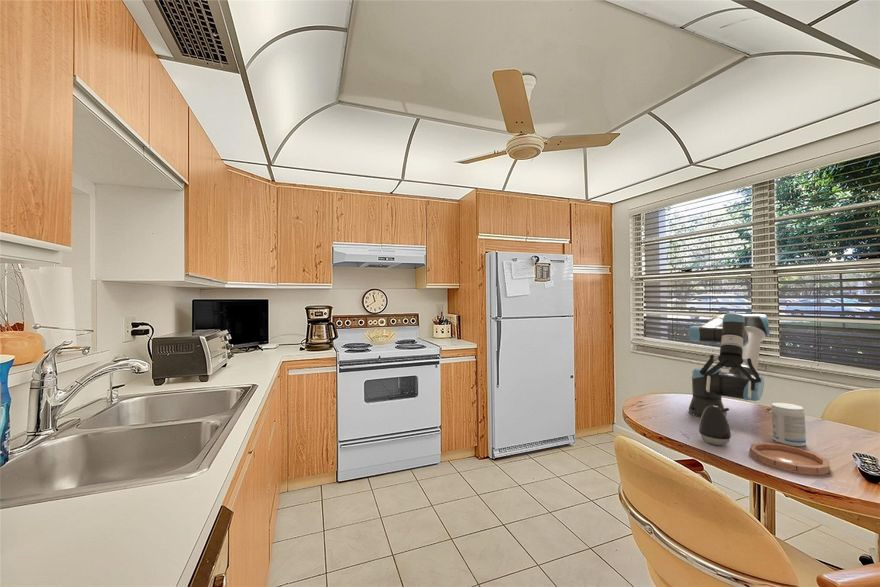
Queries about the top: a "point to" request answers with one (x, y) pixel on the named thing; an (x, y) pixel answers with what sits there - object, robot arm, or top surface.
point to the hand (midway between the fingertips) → (727, 394)
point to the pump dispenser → (714, 426)
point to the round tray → (790, 458)
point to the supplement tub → (788, 424)
